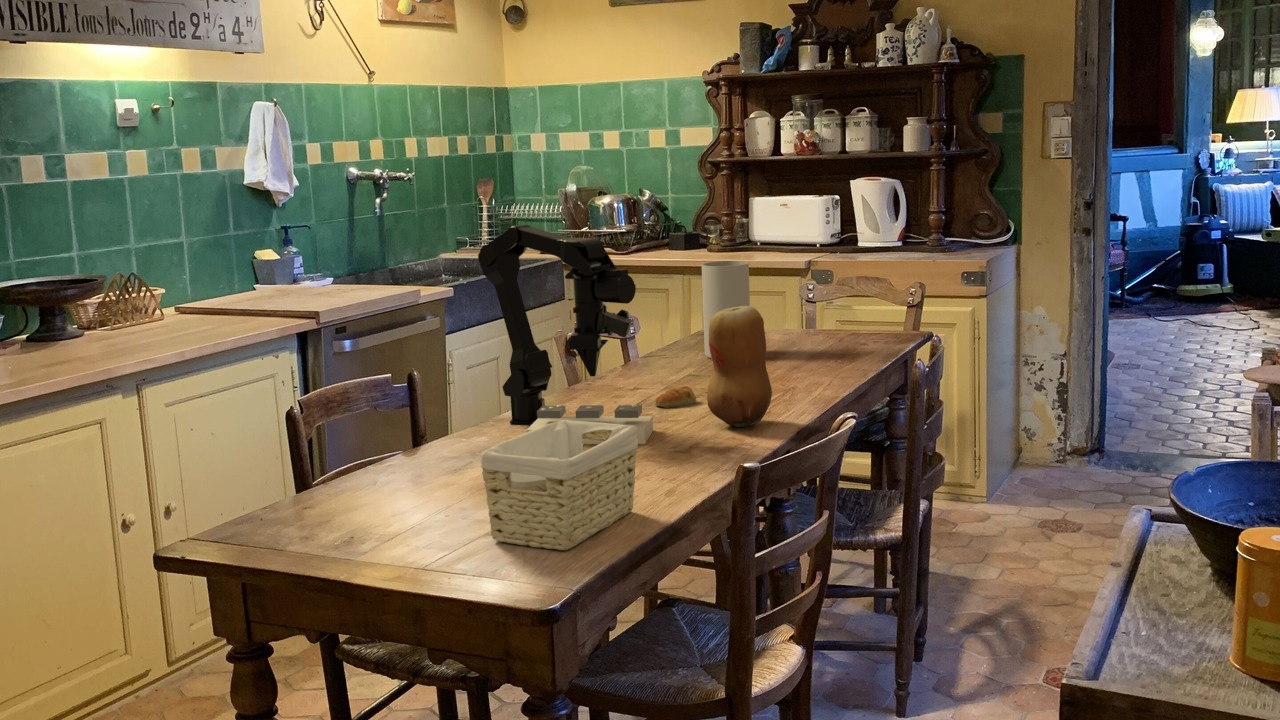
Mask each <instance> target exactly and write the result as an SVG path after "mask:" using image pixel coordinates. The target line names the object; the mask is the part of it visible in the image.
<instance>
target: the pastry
mask: <svg viewBox="0 0 1280 720" xmlns="http://www.w3.org/2000/svg"><path fill="white" fill-rule="evenodd" d="M654 401H655V404H654V406H658V407H662V408H665V409H667V408H668V409H669V408H677V407H684V406H688V405H693V404H695V403H696V402H697V397H696V395H695V392H694V391H693V389H692V388H691V387H690V386H688V385H684V386H679V387H674V388H671V389H668V390H666V391H665V392H664V393H661V394H660V395H659V396H657V397H656V398H655V400H654Z"/></svg>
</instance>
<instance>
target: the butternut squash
mask: <svg viewBox="0 0 1280 720" xmlns="http://www.w3.org/2000/svg"><path fill="white" fill-rule="evenodd" d="M764 321H765V320H764V318H763V317H762V315H761V313H760V311H759V310H758V309H757V308H756V307H753V306H751V305H750V306H740V307H732V308H727V309H724V310H722V311H720V312H717V313H716V314H714V315H713V316H712V318H711V320H710V324H709V347H710V353H711V357H712V359H711V360H712V363H713V364H712V365H713V370H712V371H713V372H712V374H711V376H710V379H709V382H708V385H707V391H706V399H707V407H708V409H709V410H710V412H711V413H712V414H713V415H714V416H715V417H716V418H718V419H719V420H721V421H723V422H724V423H725V424H726V425H729V426H731V427H734V428H741V427H744V428H745V427H749V425H750V426H752V425H755V424H758V423H760V422H761V420H762V419H763V418H764V416H765V415H766V413H767V411H768V409H769V407H770V404H771V401H772V398H773V397H772V395H773V390H772V389H773V388H772V385H771V381H770V377H769V373H768V370H767V363H766V362H767V361H766V357H767V356H766V354H767V353H766V352H767V341H766V332H765V326H764V325H765V322H764Z"/></svg>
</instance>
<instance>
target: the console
mask: <svg viewBox="0 0 1280 720" xmlns="http://www.w3.org/2000/svg"><path fill="white" fill-rule="evenodd" d="M653 418H654V416H653V415H649V416H648V415H647V416H646V415H640V416H639V418H615V415H614V416H613V415H612V416H611V415H610V416H607V415H606V416H603V415H601V417H600V418H576V416H562V417H561V418H538V419H537V420H536V421H535V422H534V423H533V424H530V426H529V427H527V428H526V433H527V432H529V431H531V430H534V429H536V428H539V427H541V426H544V425H547V424H550V423H554V422H559V421H561V420H569V421H582V422H598V423H609V424H620V425H634V426H636V427H637V440H638V445H645V444H646V443H647V442H648V439H649V438H650V437H651V434H652V433H653V431H654V419H653ZM582 439H583V438H582ZM603 442H604V441H599V440H592V439H591V440H589V439H583V445H599V444H601V443H603Z"/></svg>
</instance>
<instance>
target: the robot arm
mask: <svg viewBox="0 0 1280 720" xmlns="http://www.w3.org/2000/svg"><path fill="white" fill-rule="evenodd" d="M527 248H528V249H531V250H535V251H537V252H541V253H544V254H548V255H552V256H555V257H557V258H558V259H560V260H561V261H562V263H564V264H565V265H566V266H568V267H570V268H571V269H570V270H569V272H567V273H566V274H565V275H564V276H565V277H564V278H565V279H566V280H573V290H574V291H573V292H574V293H573V294H574V306H573V308H572V311H573V314H575V327H574V329H573V330H574V333H572V335H570V337H568V338H567V339H566V344H567V345H566V346H567V350H573V351H574V350H576V352H577V354H578V356H579V357H580V359H581V361H582V363H583V365H584V367H585V369H586V371H587V373H588V375H589V377H597V371H598V366H599V361H600V355H601V350H602V348H603V347H604V346H605V345H606V344H607V343H608V341H609V339H602V335H604V334H607V335H608V336H612V335H613V334H616V335H618V337H622V338H626V337H627V335H629V333H630V329H631V326H632V325H633V323H632V322H633V319H632V318H631V317H629V311H628V310H625V309H620V310H619V311H618V312H617V313H616V312H610V311H607V309H608V307H607V305H606V303H610V304H611V303H612V304H625V305H626V304H630V303H631V302H632V301H633V299H634V298H635V295H636V290H637V287H636V284H635V281H634V279H633V278H632V277H631V276H630V275H629V270H628V269H627V268H621V269H617V267H616V265H615V264H614V262H613V260H612V259H611V257H610V255H609V254H608V252H607V251H606V249H605V246H604V244H603V242H602V241H601V239H598V238H596V237H595V238H594V237H569V236H564V235H561V234H556V233H553V232H549V231H546V230H543V229H539V228H536V227H532V226H531V225H528V224H517V225H512V226H511V227H509V228H508V229H507V230H505V232H504V233H502V234H501V235H499V236H497V237H496V238H494V239H493V240H491V241H490V242H489V243H488V244H484V245H483V246H482V247H481V248H480V250H479V252H478V253H477V260H478V263H479V266H480V267H481V270H482V273H483V275H484V276H485V278H487V280H488V281H489V282H490V283H491V284H492V285H493V286H494V288H495V292H496V296H497V298H498V302H499V306H500V310H501V313H502V317H503V320H504V324H505V329H506V331H507V334H508V338H509V342H510V345H511V349H512V350H511V351H512V353H511V356H510V359H509V360H510V361H509V370H510V376H509V377H508V378H507V380H506V381H505V382H504V383H503V385H502V390H503V393H504V396H506V397H510V409H511V410H510V412H511V420H510V421H509V424H513V425H514V424H515V425H517V424H521V425H523V424H527V425H529V424H530V425H532V424H533V423H534V422H535V421H536V420H537V419H538V418H537V411H538V410H539V409H540V408H541V407H542V406H546V404H545V398H544V397H543V396H542V395H543V394H542V392H545V391H548V386H549V381H550V378H551V377H552V369H553V365H552V364H551V361H550V358H549V352H548V350H547V349H542V350H541V349H540V348H539V346H538V345H536V342H535V340H534V336H533V334H532V329H531V325H530V322H529V318H528V315H527V311H526V308H525V304H524V300H523V297H522V293H521V289H520V286H519V283H518V277H519V273H520V268H521V263H520V257H521V256H522V255H524V253H525V252H526V250H527Z"/></svg>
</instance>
